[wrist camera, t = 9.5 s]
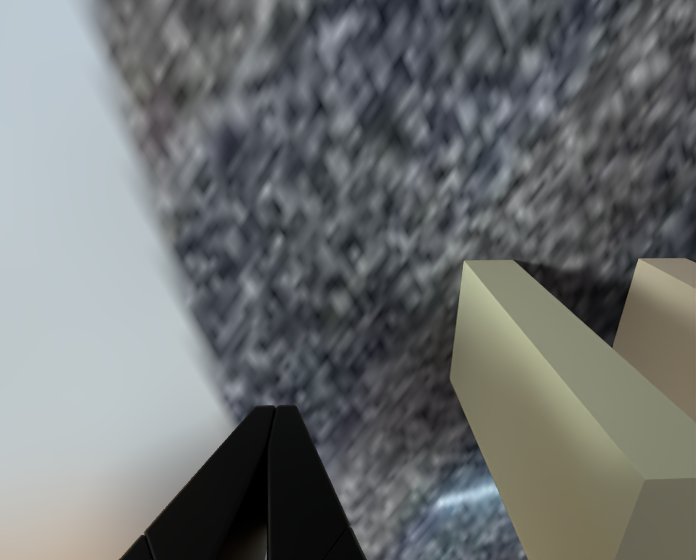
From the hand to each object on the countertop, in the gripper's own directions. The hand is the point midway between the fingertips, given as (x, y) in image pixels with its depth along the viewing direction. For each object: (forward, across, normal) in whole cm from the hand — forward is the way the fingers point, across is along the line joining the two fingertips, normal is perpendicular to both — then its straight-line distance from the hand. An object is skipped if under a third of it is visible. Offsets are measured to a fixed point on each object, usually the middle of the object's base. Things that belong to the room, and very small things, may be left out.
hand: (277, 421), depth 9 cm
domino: (+4, -6, 0) cm, 7 cm away
